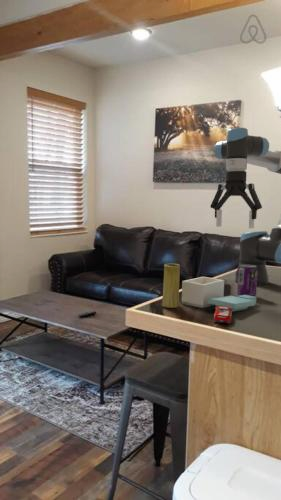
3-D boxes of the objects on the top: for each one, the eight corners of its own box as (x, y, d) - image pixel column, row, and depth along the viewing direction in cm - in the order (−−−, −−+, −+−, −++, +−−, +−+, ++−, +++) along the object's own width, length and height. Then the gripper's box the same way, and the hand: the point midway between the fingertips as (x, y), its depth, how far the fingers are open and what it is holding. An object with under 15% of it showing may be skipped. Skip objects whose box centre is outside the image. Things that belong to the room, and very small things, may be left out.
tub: (202, 297, 153) (203, 276, 152) (223, 301, 147) (224, 280, 146) (181, 303, 143) (182, 281, 142) (202, 308, 137) (203, 284, 136)
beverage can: (256, 299, 152) (258, 267, 151) (237, 297, 154) (238, 266, 152) (255, 295, 159) (257, 264, 158) (236, 293, 160) (238, 263, 159)
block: (237, 302, 149) (238, 293, 149) (262, 307, 142) (263, 298, 142) (207, 307, 134) (208, 297, 134) (234, 313, 128) (235, 302, 127)
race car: (216, 313, 133) (216, 301, 132) (233, 314, 131) (233, 302, 131) (211, 324, 120) (212, 311, 120) (230, 326, 118) (230, 312, 118)
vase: (181, 304, 141) (182, 264, 140) (177, 308, 136) (178, 266, 134) (164, 302, 143) (165, 262, 142) (159, 307, 138) (160, 265, 136)
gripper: (202, 171, 158) (201, 226, 160) (263, 168, 142) (261, 229, 144) (212, 172, 163) (211, 225, 166) (272, 169, 147) (270, 228, 150)
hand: (234, 227), depth 155 cm, fingers open, 13 cm apart
